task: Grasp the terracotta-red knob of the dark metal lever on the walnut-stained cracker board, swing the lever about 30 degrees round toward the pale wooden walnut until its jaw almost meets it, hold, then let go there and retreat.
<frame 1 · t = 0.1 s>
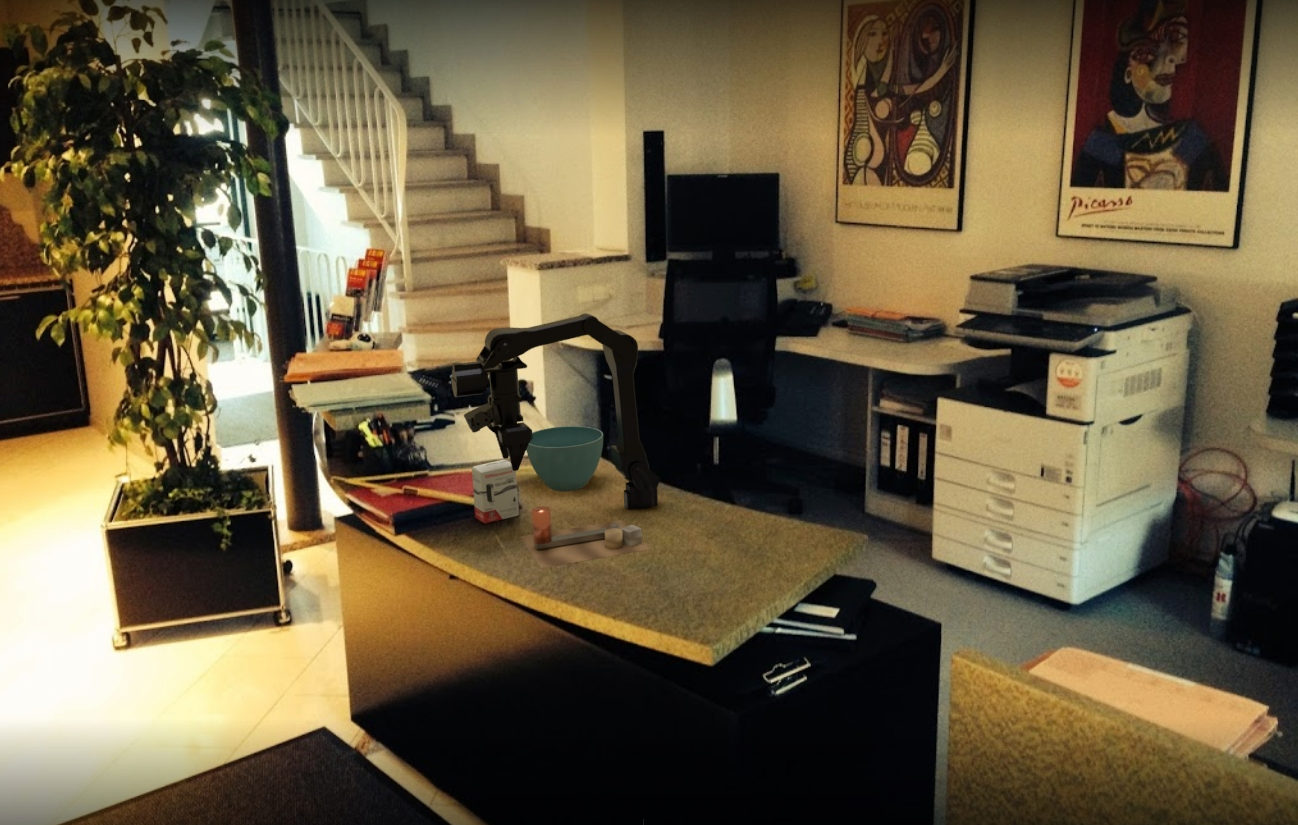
hand: (510, 464, 230), 15 cm above the worktop, fingers open, 9 cm apart
teal bowl: (567, 487, 261), on the worktop
ink box: (497, 517, 242), on the worktop
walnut: (614, 545, 220), point 1 cm above the worktop, touching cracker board
lever: (570, 523, 221), point 5 cm above the worktop, hinge at 0.0°
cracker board: (583, 548, 222), on the worktop
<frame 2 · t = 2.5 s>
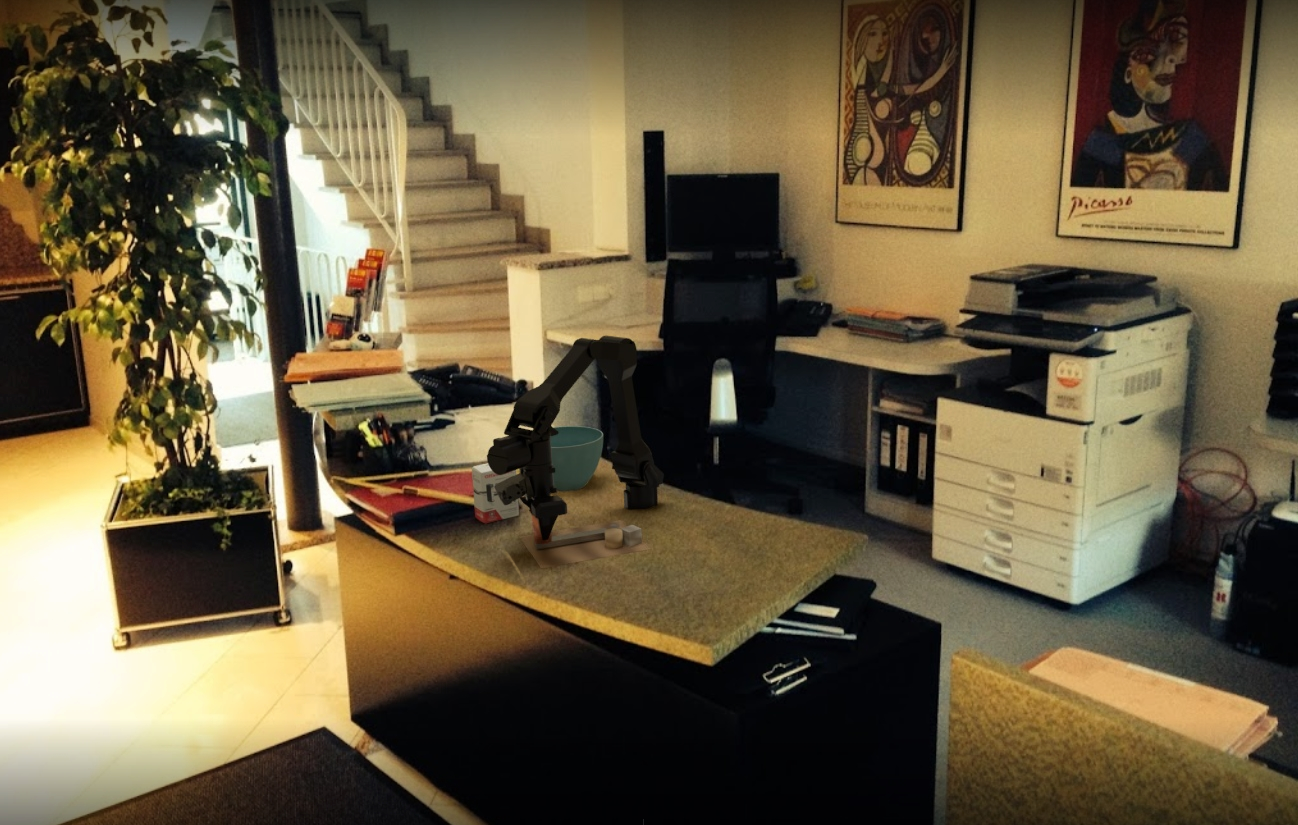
hand: (542, 536, 220), 4 cm above the worktop, fingers closed on lever, 4 cm apart
lever: (570, 523, 221), point 5 cm above the worktop, hinge at 0.0°, touching gripper
everything else where it was.
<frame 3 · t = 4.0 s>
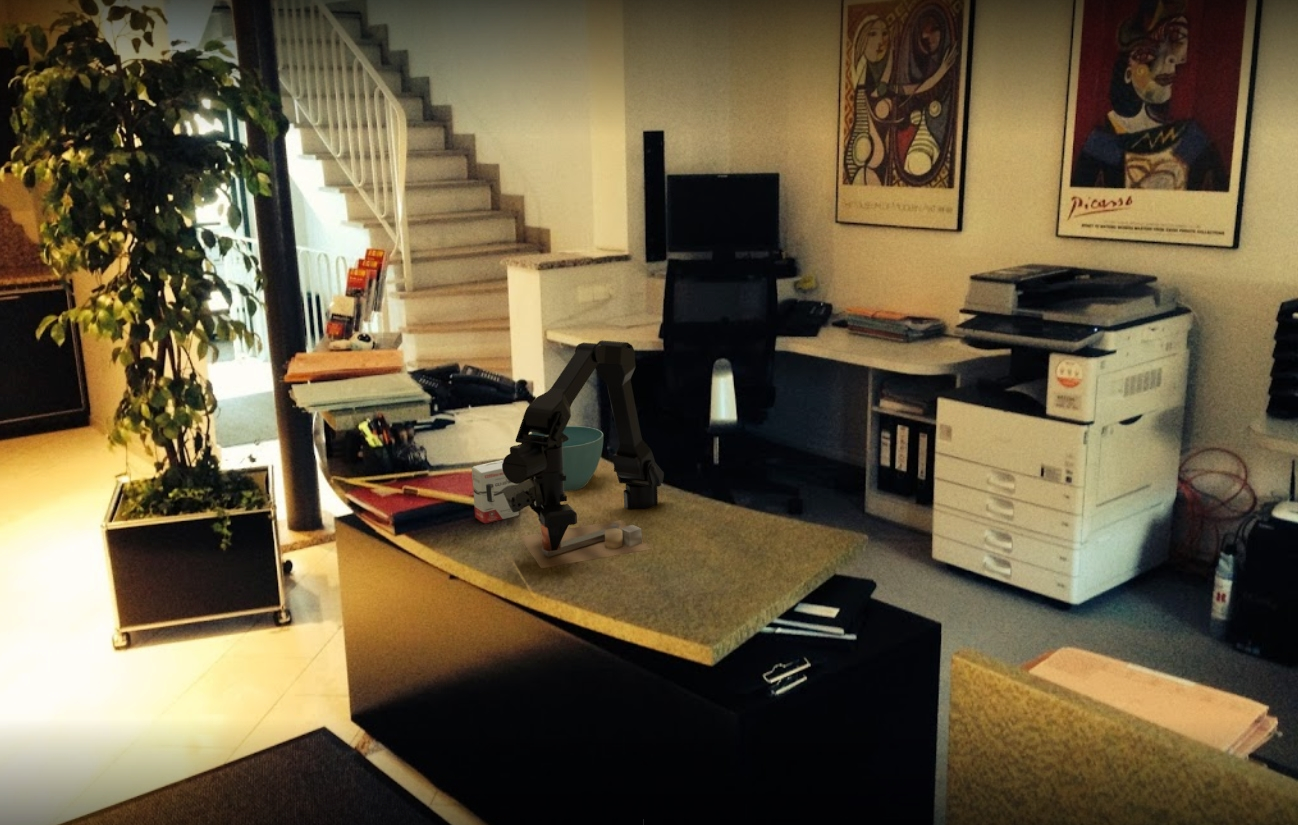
hand: (550, 544, 215), 4 cm above the worktop, fingers open, 5 cm apart
lever: (576, 527, 219), point 5 cm above the worktop, hinge at 17.0°, touching gripper
everything else where it was.
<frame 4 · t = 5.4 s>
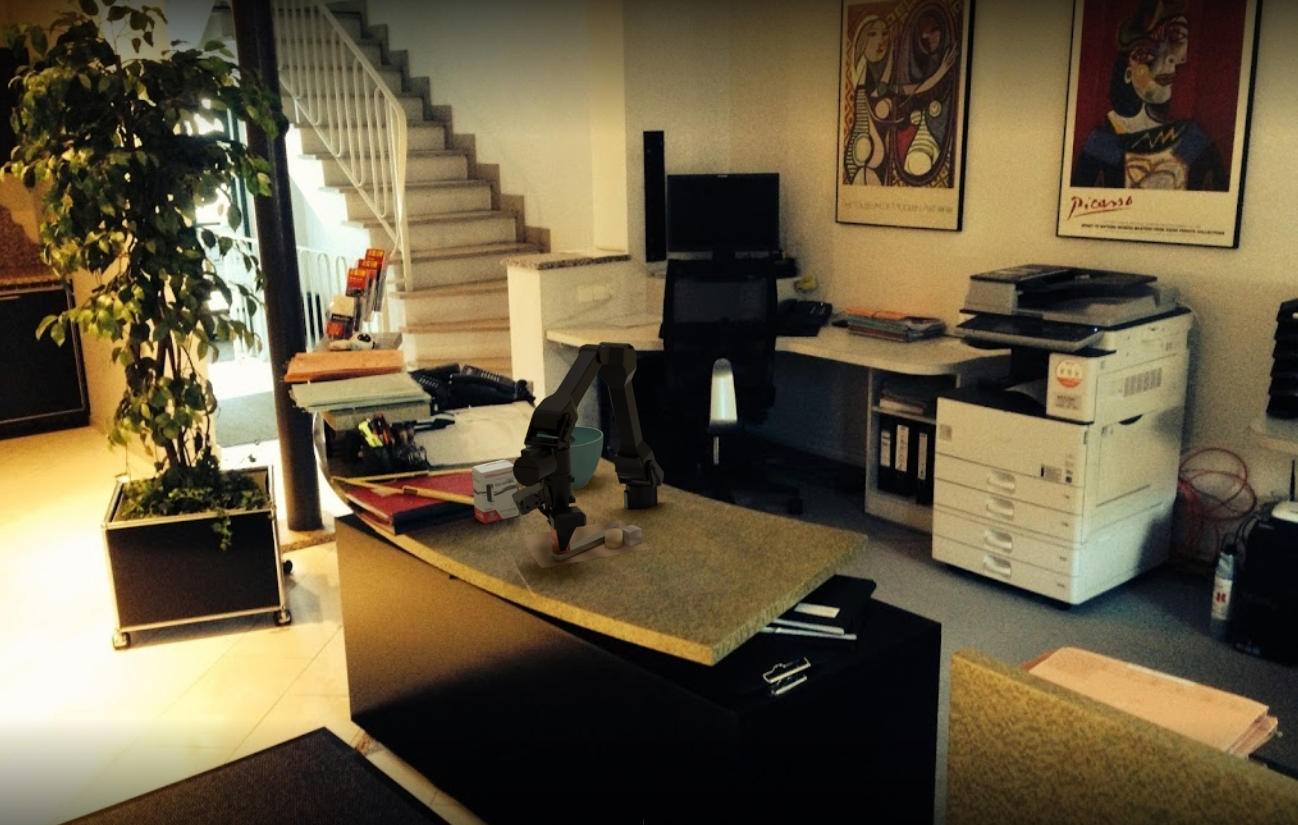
hand: (560, 547, 214), 4 cm above the worktop, fingers closed on lever, 3 cm apart
lever: (581, 529, 218), point 5 cm above the worktop, hinge at 28.3°, touching gripper
everything else where it was.
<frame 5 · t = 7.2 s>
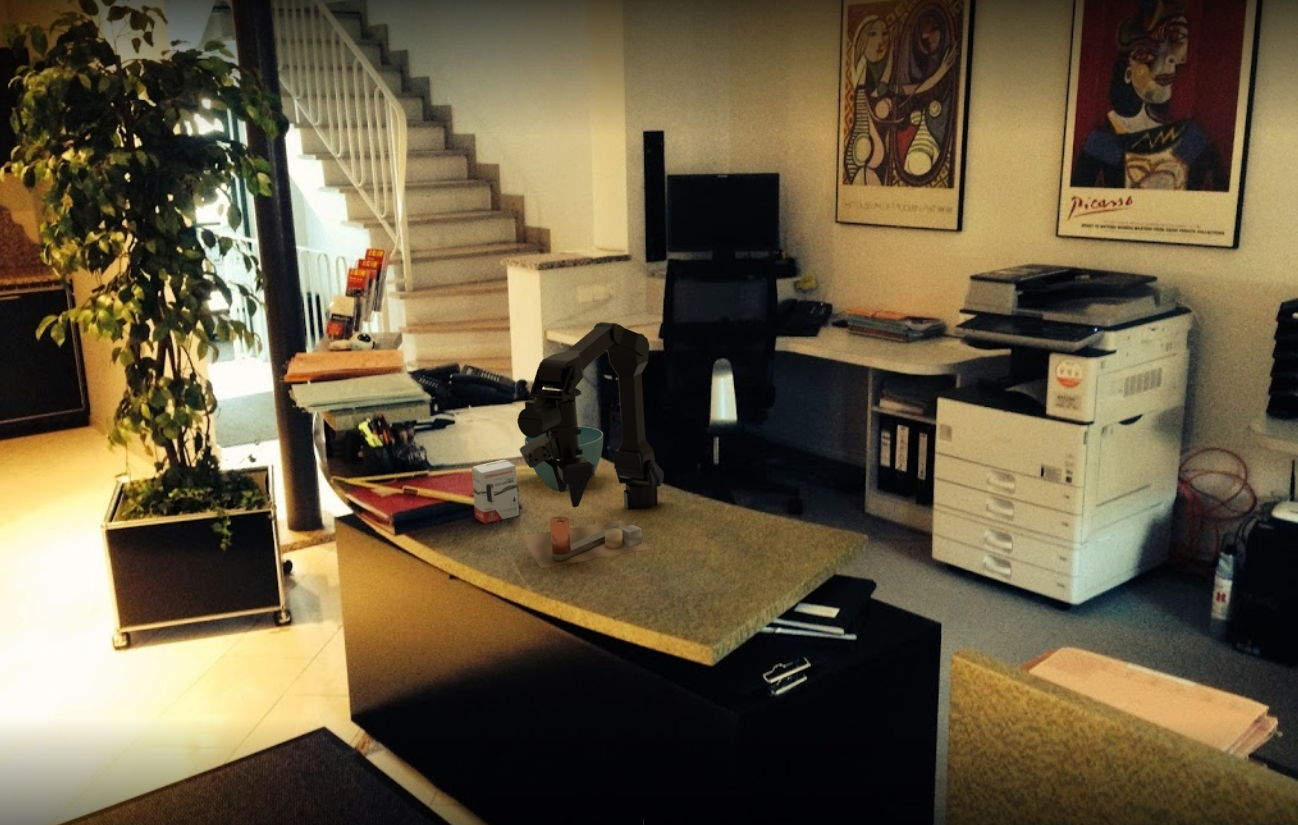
hand: (568, 499, 217), 11 cm above the worktop, fingers open, 9 cm apart
lever: (582, 529, 218), point 5 cm above the worktop, hinge at 28.7°
everything else where it was.
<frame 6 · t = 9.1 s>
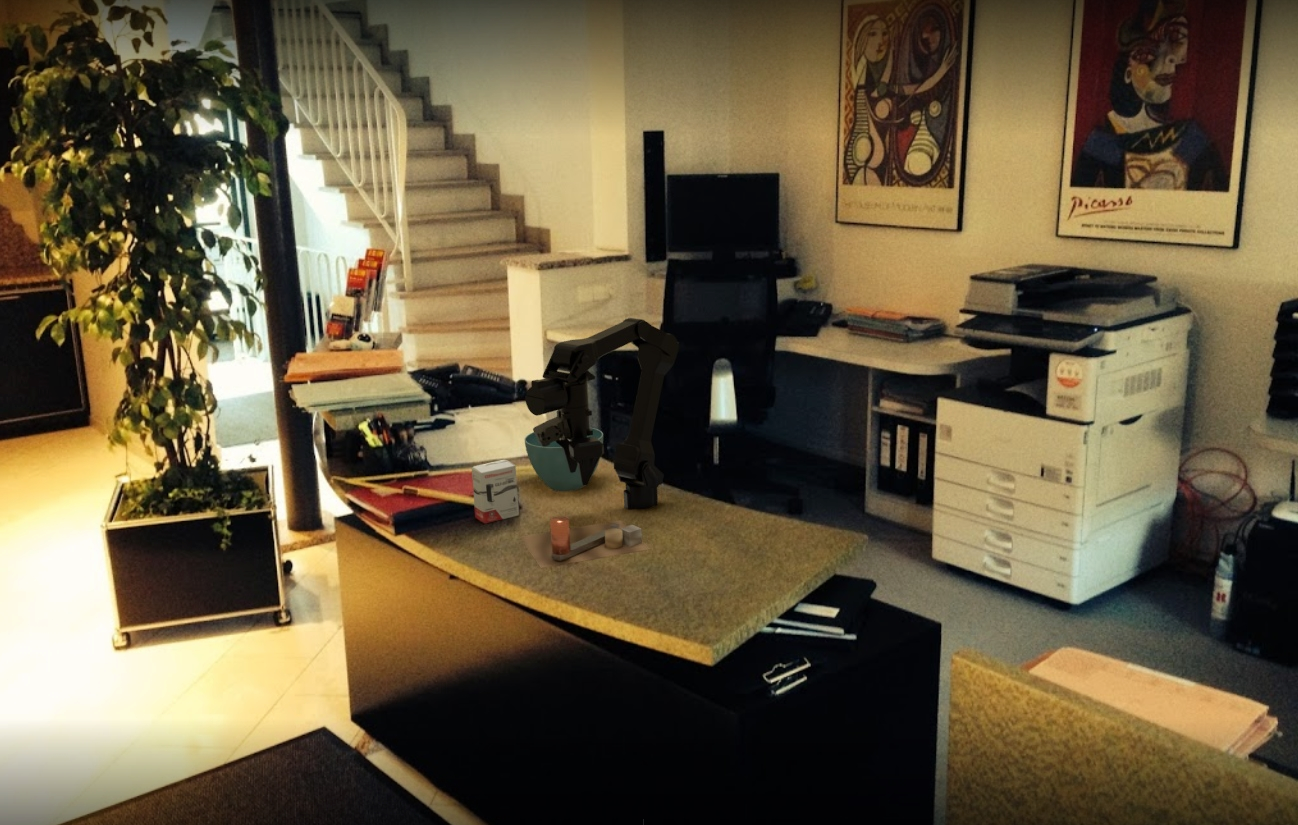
hand: (578, 478, 227), 12 cm above the worktop, fingers open, 9 cm apart
nothing on the worktop moved.
at the end: lever at +29° (first picture: +0°); the gripper is holding nothing; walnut moved 0.0 cm from its start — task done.
